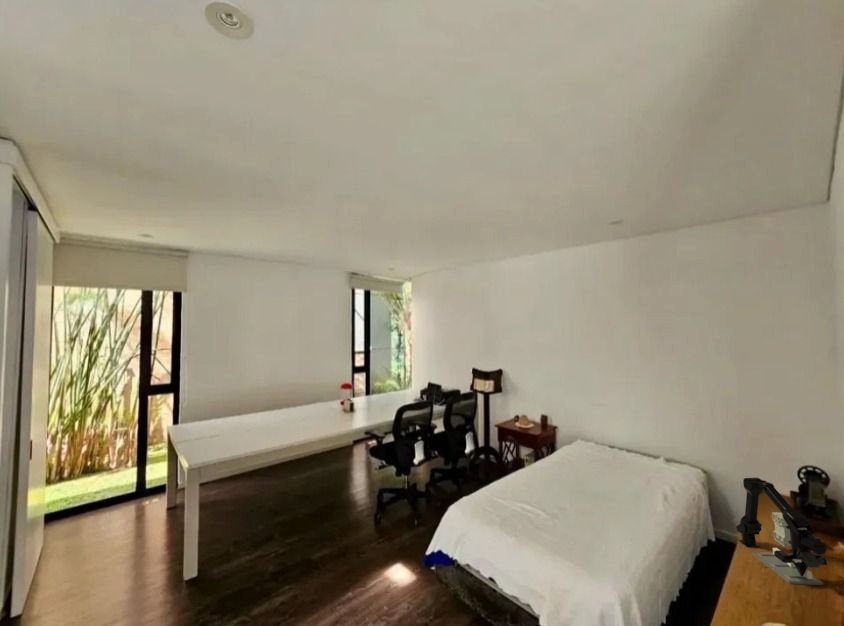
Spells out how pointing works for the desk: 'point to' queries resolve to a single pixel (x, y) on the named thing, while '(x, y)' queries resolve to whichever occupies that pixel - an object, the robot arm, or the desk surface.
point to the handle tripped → (808, 574)
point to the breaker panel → (785, 569)
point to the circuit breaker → (782, 529)
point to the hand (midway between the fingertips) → (801, 575)
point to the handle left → (775, 549)
